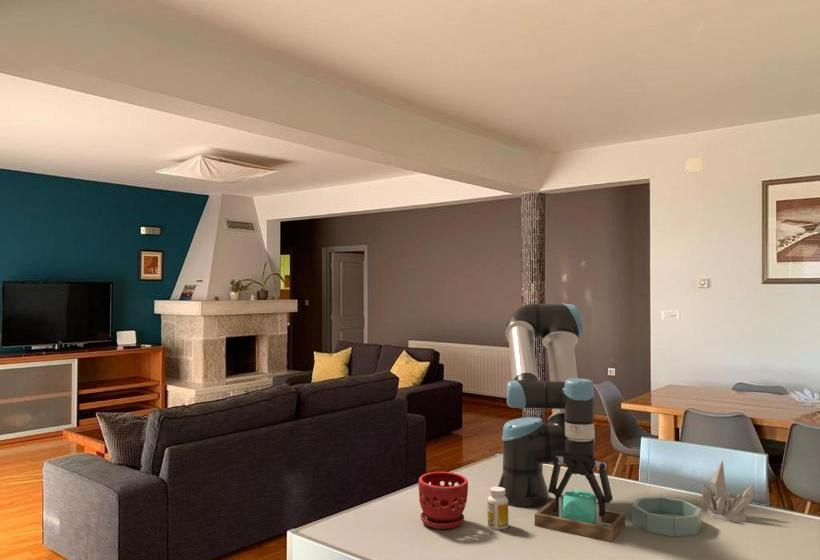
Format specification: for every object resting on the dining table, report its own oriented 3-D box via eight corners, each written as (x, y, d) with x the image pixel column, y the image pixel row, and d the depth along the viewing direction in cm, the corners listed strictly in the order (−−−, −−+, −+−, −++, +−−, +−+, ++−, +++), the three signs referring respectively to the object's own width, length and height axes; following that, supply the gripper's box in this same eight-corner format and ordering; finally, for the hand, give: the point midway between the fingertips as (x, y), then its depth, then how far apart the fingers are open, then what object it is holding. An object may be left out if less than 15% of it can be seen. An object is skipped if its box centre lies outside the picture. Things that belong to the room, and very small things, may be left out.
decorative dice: (594, 533, 160) (594, 501, 160) (562, 529, 163) (562, 497, 163) (596, 522, 168) (596, 491, 168) (566, 518, 171) (565, 488, 171)
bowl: (627, 527, 164) (627, 510, 164) (641, 509, 177) (641, 493, 177) (694, 540, 155) (694, 522, 155) (704, 520, 169) (703, 503, 169)
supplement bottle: (510, 523, 167) (509, 486, 167) (506, 531, 162) (506, 492, 162) (489, 521, 168) (489, 484, 169) (485, 528, 163) (485, 490, 164)
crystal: (761, 523, 167) (760, 466, 167) (707, 520, 169) (707, 464, 169) (747, 510, 176) (747, 457, 177) (697, 508, 179) (697, 454, 179)
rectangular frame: (534, 525, 165) (534, 513, 165) (552, 510, 176) (551, 500, 176) (612, 541, 155) (611, 529, 155) (625, 525, 166) (625, 513, 166)
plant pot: (411, 529, 163) (411, 482, 163) (428, 512, 175) (427, 469, 176) (460, 535, 159) (460, 487, 159) (473, 518, 171) (473, 473, 171)
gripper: (535, 436, 168) (535, 520, 168) (617, 446, 157) (618, 537, 156) (545, 430, 175) (545, 512, 174) (625, 440, 163) (626, 528, 163)
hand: (580, 524), depth 165 cm, fingers open, 9 cm apart
